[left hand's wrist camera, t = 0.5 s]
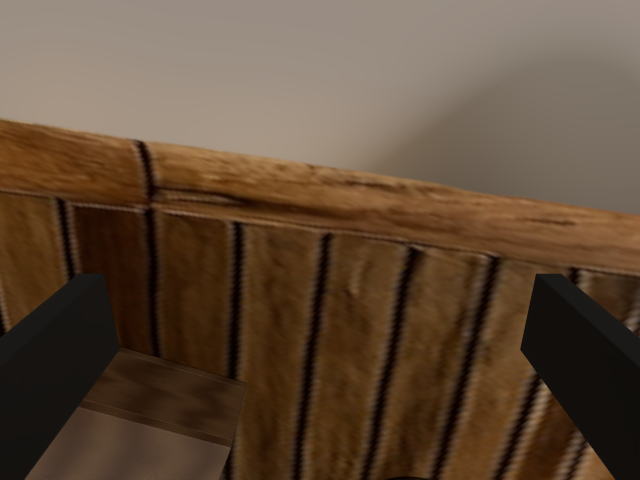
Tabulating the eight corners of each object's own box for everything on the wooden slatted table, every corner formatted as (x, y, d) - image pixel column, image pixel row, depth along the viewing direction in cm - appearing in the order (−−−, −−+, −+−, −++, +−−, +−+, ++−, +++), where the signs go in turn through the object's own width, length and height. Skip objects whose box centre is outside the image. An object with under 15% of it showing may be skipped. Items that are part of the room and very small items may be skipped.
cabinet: (62, 410, 49) (10, 478, 41) (76, 333, 45) (22, 392, 37) (220, 452, 52) (201, 524, 43) (246, 383, 48) (231, 448, 39)
